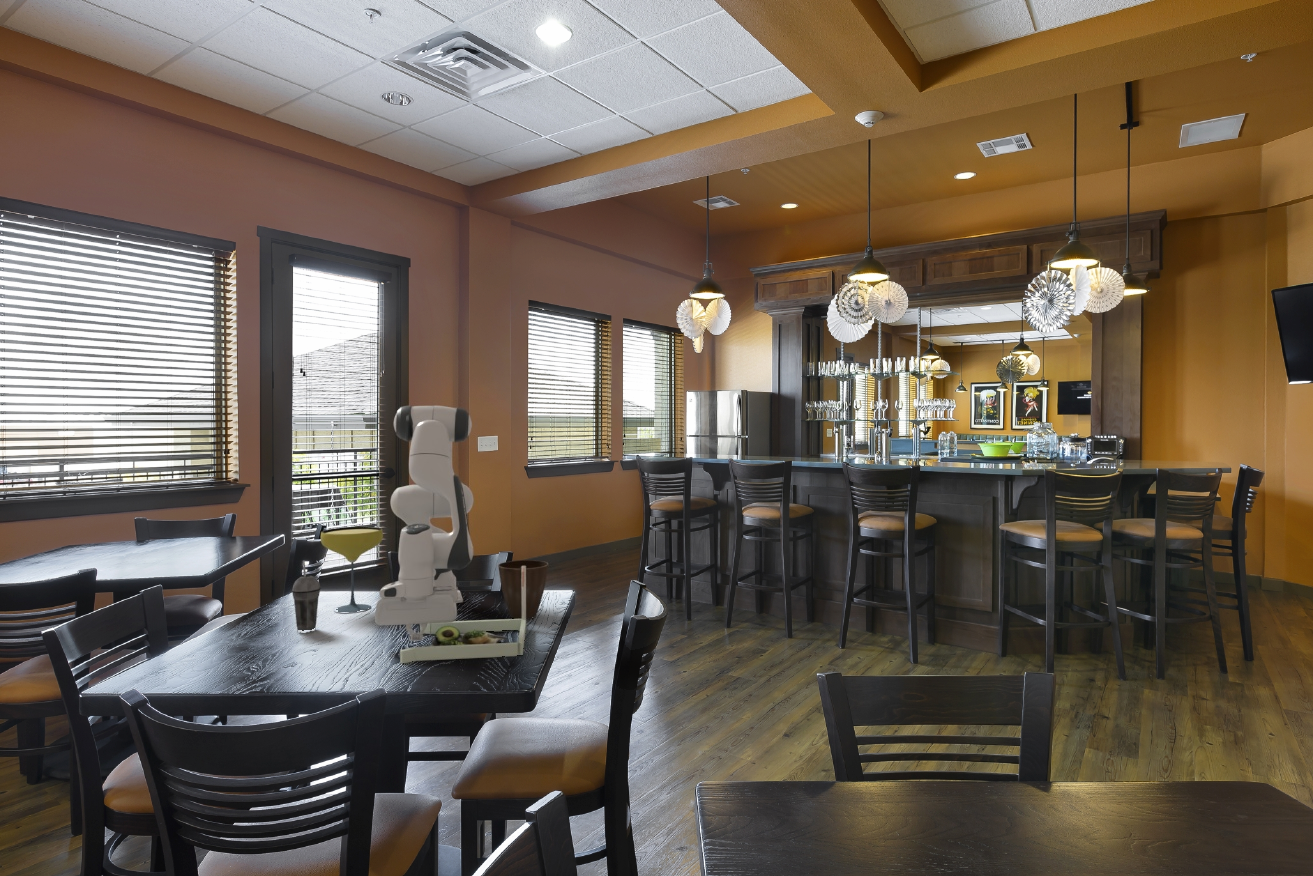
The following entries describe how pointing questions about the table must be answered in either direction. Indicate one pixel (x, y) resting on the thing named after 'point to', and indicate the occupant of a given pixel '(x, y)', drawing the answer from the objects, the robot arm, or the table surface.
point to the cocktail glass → (352, 551)
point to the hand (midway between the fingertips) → (416, 640)
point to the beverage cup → (306, 601)
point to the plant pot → (513, 585)
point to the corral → (474, 649)
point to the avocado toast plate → (463, 637)
